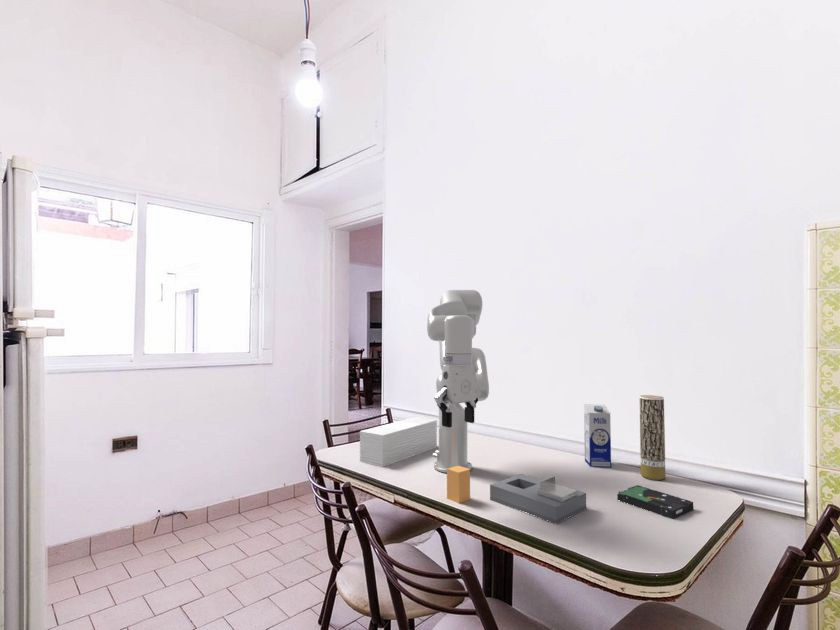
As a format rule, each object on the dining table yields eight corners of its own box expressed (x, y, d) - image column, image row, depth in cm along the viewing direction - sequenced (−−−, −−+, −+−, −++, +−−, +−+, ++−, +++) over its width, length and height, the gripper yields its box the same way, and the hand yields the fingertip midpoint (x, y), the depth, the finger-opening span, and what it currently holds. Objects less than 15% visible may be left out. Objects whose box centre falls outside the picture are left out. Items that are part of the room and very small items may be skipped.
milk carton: (605, 461, 153) (604, 404, 154) (611, 467, 147) (610, 407, 147) (584, 461, 154) (583, 403, 155) (589, 466, 147) (589, 406, 148)
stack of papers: (415, 443, 179) (415, 417, 179) (436, 447, 172) (436, 420, 173) (359, 462, 153) (359, 430, 154) (382, 467, 147) (382, 435, 147)
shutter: (537, 494, 111) (537, 481, 111) (552, 487, 115) (552, 475, 116) (562, 502, 106) (562, 488, 106) (577, 495, 110) (577, 482, 110)
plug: (447, 498, 119) (446, 468, 119) (458, 494, 122) (458, 465, 122) (458, 503, 115) (458, 472, 116) (470, 499, 118) (469, 469, 119)
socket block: (490, 499, 118) (490, 484, 118) (521, 487, 127) (521, 473, 127) (556, 524, 103) (555, 506, 103) (586, 508, 112) (586, 492, 112)
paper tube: (641, 472, 141) (640, 394, 142) (665, 476, 138) (664, 396, 139) (640, 478, 135) (638, 397, 136) (665, 482, 132) (663, 398, 133)
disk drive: (694, 512, 111) (637, 494, 124) (694, 501, 111) (637, 484, 124) (673, 522, 106) (616, 501, 118) (673, 510, 106) (616, 491, 118)
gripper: (445, 362, 112) (445, 431, 111) (489, 359, 123) (489, 422, 122) (425, 360, 117) (425, 426, 117) (469, 358, 129) (470, 418, 128)
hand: (458, 424), depth 119 cm, fingers open, 8 cm apart
